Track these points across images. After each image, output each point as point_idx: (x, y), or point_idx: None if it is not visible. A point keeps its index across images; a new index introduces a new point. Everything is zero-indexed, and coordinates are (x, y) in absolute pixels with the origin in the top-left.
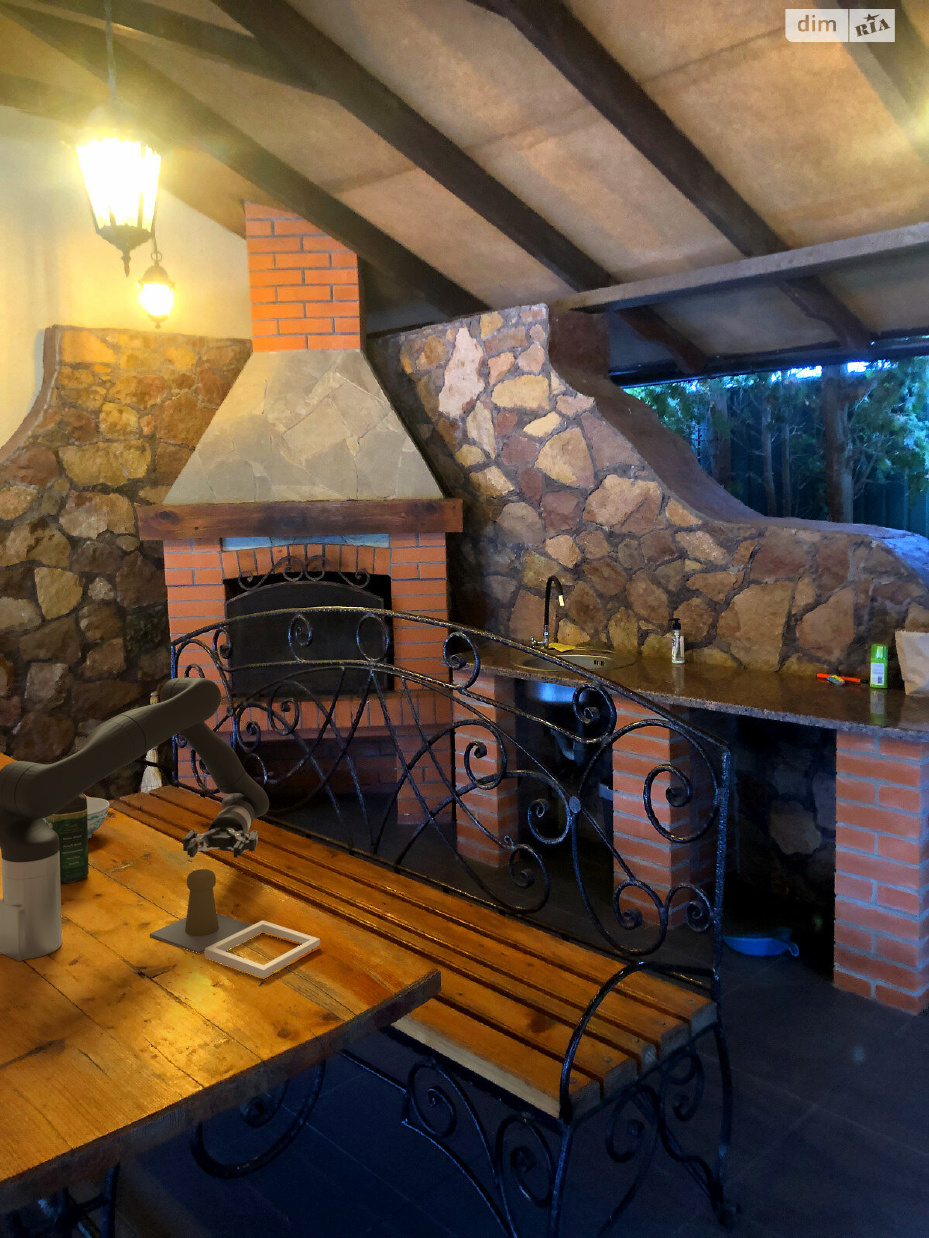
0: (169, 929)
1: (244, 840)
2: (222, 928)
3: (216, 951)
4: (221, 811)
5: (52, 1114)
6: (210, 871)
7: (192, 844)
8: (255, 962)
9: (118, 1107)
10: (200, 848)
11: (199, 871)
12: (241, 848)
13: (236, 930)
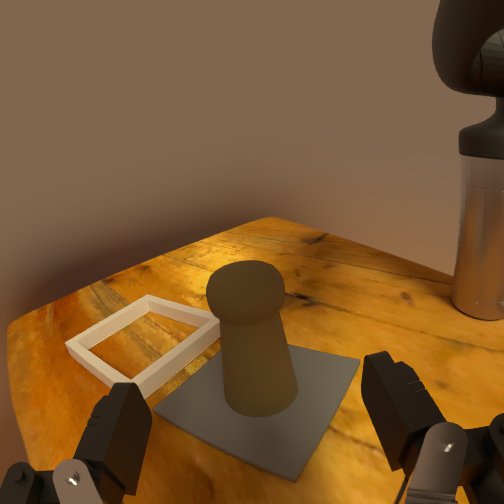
0: (331, 378)
1: (61, 464)
2: (216, 397)
3: (206, 312)
4: None
5: (273, 225)
6: (217, 276)
7: (396, 377)
8: (154, 302)
9: (240, 230)
10: (395, 500)
11: (246, 267)
12: (99, 406)
13: (185, 391)
